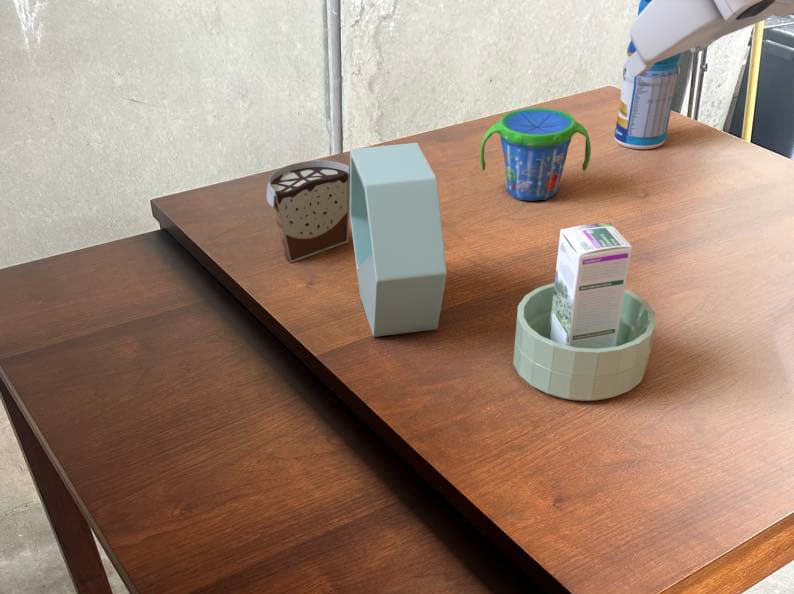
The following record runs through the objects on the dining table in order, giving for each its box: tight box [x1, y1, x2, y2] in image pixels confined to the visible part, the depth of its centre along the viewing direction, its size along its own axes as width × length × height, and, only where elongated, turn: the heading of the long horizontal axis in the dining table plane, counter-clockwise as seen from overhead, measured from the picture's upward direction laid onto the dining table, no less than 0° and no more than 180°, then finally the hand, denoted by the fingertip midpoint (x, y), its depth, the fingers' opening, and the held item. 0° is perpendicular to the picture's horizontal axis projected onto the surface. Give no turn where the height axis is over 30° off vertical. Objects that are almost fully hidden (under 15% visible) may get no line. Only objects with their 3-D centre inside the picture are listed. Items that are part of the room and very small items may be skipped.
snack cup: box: [480, 107, 592, 202], centre depth 124 cm, size 16×10×10 cm
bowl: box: [512, 282, 657, 402], centre depth 94 cm, size 14×14×6 cm
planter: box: [349, 142, 448, 338], centre depth 99 cm, size 17×8×21 cm
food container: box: [266, 160, 350, 264], centre depth 115 cm, size 12×6×10 cm, turn 126°
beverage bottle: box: [613, 0, 684, 150], centre depth 134 cm, size 8×8×20 cm
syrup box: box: [549, 222, 633, 349], centre depth 90 cm, size 6×6×14 cm
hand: (663, 57), depth 84 cm, fingers open, 8 cm apart
